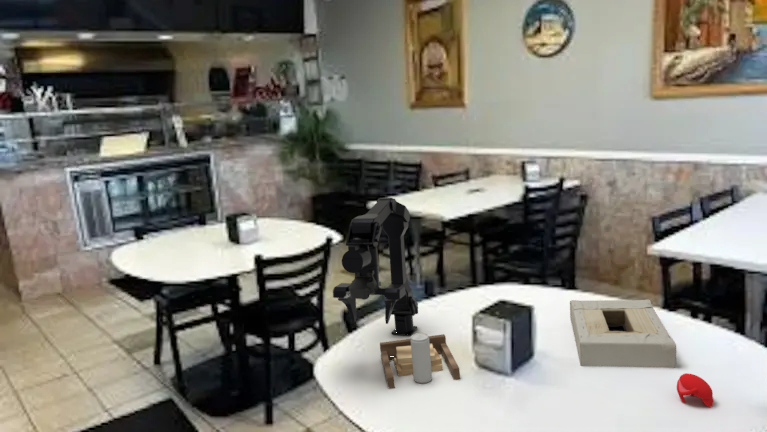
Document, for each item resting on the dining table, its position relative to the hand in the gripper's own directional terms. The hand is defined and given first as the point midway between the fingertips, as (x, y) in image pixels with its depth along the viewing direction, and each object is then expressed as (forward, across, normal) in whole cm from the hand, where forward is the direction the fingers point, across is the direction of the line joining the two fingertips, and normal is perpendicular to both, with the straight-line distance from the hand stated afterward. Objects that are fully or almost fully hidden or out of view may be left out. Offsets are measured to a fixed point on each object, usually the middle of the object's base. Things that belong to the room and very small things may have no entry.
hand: (370, 322), depth 158 cm
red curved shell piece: (+15, +77, -1) cm, 78 cm away
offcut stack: (+14, +11, +6) cm, 18 cm away
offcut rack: (+14, +11, +5) cm, 18 cm away
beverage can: (+15, +14, -1) cm, 20 cm away
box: (+12, +62, +29) cm, 70 cm away
